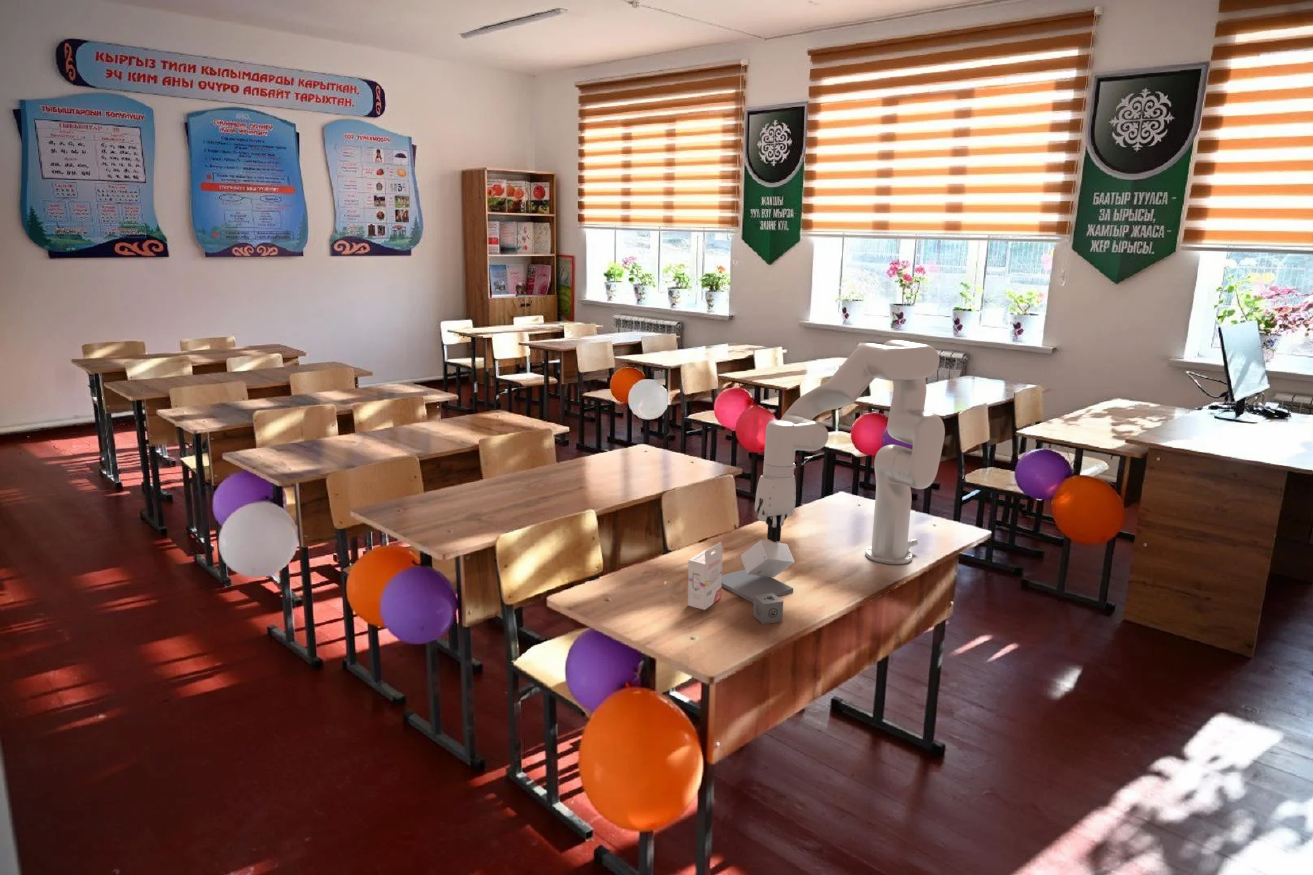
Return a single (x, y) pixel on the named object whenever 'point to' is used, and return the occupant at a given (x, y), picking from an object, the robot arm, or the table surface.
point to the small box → (767, 558)
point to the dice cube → (768, 608)
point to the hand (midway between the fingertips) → (773, 540)
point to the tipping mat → (753, 585)
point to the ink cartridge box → (705, 578)
